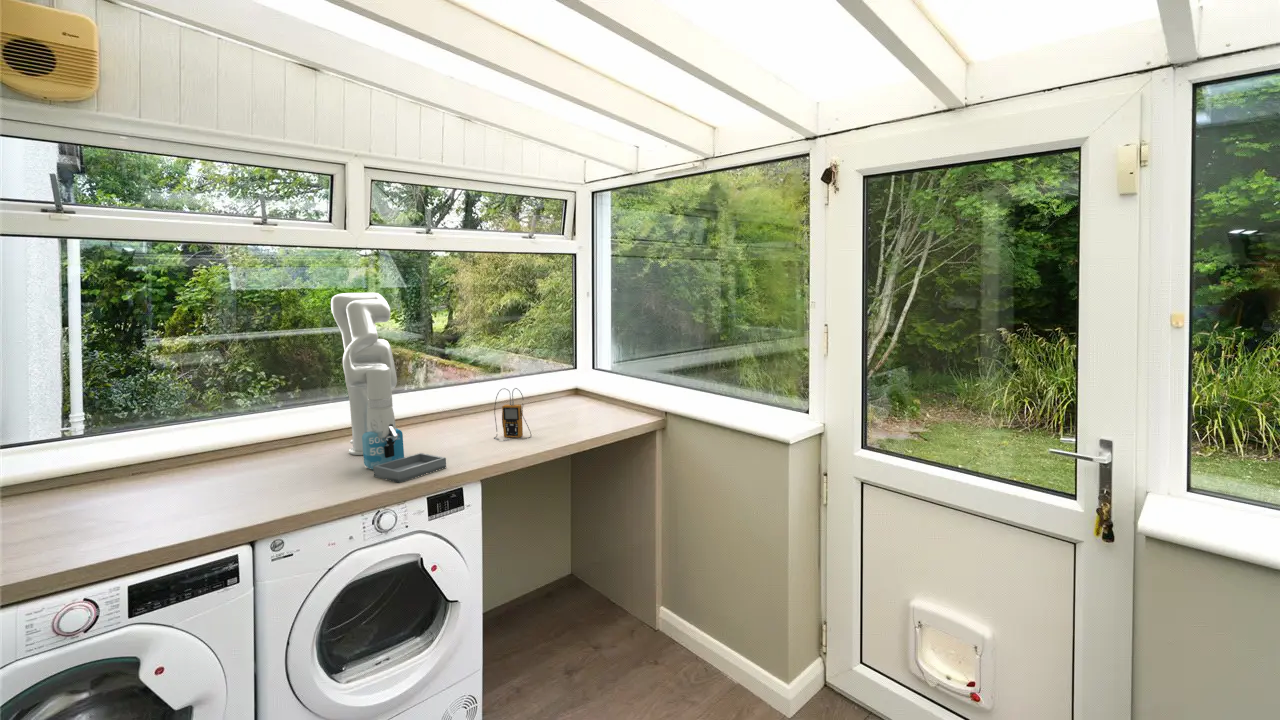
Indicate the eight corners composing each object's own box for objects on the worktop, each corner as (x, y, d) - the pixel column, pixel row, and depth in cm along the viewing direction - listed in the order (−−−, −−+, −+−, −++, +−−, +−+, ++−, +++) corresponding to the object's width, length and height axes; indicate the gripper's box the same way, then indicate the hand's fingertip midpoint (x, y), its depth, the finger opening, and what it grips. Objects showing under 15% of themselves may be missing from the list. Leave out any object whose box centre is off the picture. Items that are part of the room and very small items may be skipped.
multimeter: (487, 442, 233) (484, 391, 230) (497, 435, 242) (495, 387, 240) (523, 442, 230) (520, 392, 228) (532, 436, 240) (529, 387, 238)
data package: (368, 470, 197) (365, 435, 195) (364, 467, 200) (361, 432, 199) (404, 463, 205) (402, 429, 203) (400, 460, 208) (398, 426, 207)
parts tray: (374, 476, 191) (373, 466, 190) (421, 462, 206) (420, 452, 205) (399, 483, 184) (398, 472, 183) (446, 467, 199) (445, 457, 198)
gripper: (355, 402, 201) (358, 454, 204) (385, 407, 192) (389, 462, 194) (375, 399, 208) (378, 449, 210) (406, 403, 198) (409, 456, 201)
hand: (383, 454), depth 202 cm, fingers closed on data package, 5 cm apart
